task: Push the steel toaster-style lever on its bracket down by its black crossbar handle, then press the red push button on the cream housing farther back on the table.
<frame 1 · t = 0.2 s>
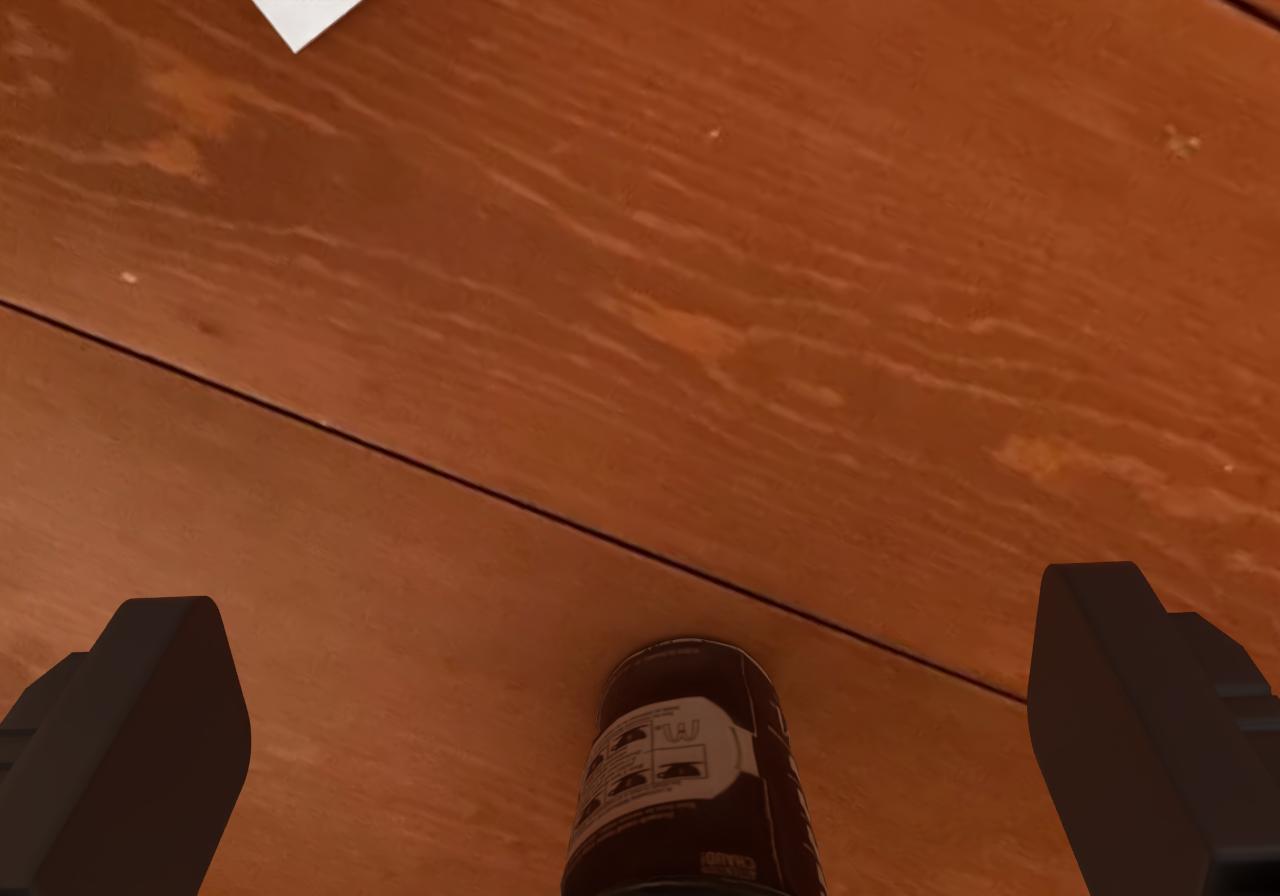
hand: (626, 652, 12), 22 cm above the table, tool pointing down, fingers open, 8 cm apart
coffee cup: (684, 702, 41), on the table
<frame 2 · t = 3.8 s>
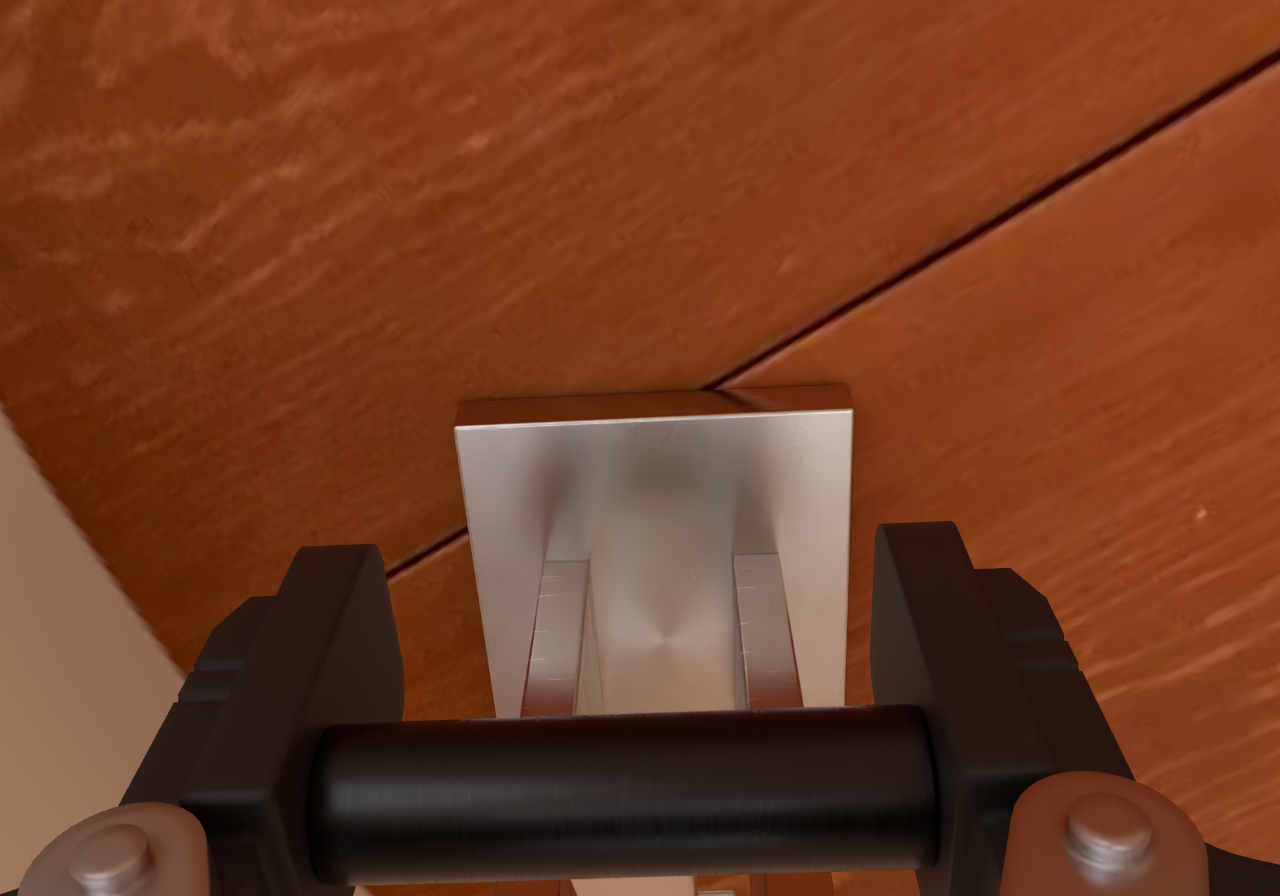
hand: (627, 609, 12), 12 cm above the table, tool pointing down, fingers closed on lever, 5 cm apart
bracket: (665, 607, 27), on the table
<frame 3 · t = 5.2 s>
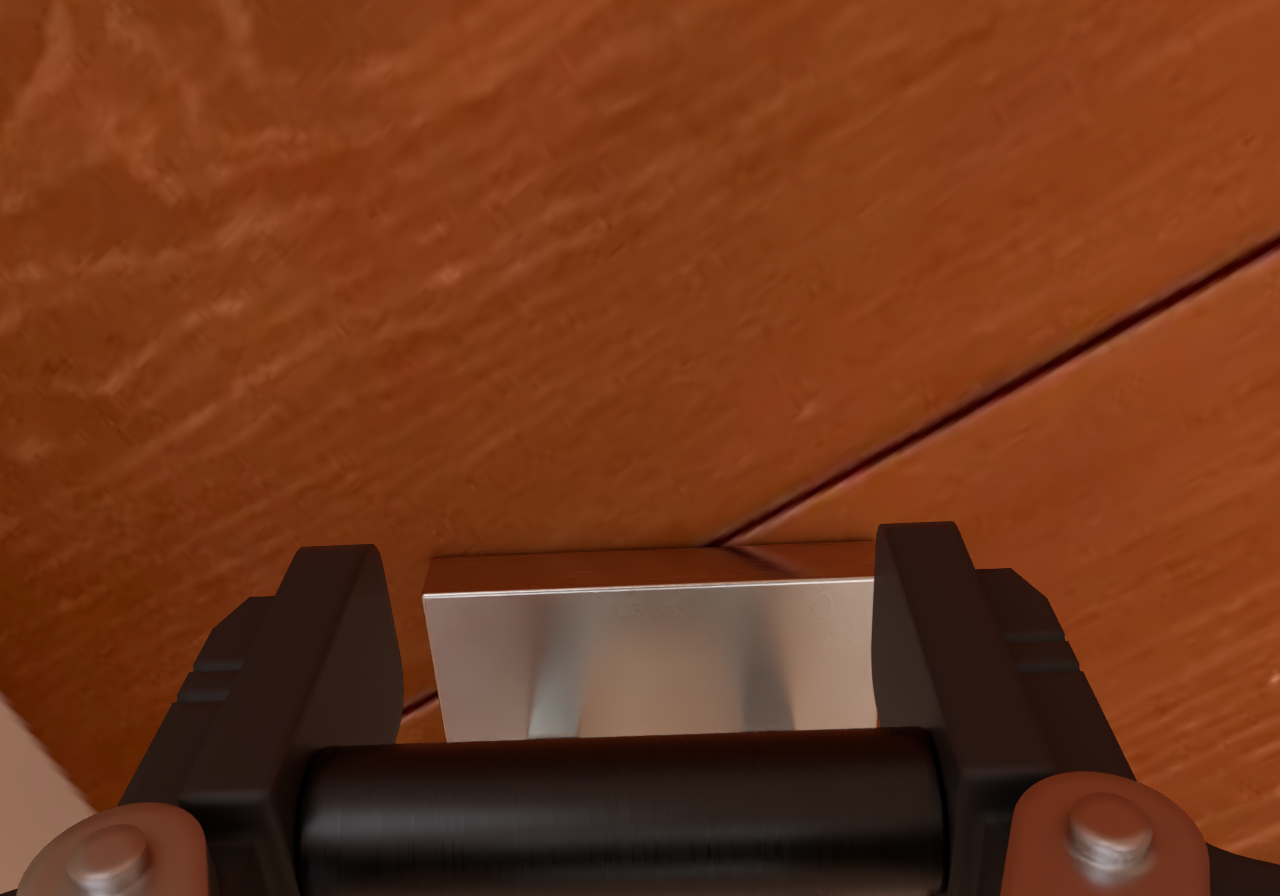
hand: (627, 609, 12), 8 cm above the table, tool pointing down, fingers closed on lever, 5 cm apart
bracket: (665, 775, 24), on the table
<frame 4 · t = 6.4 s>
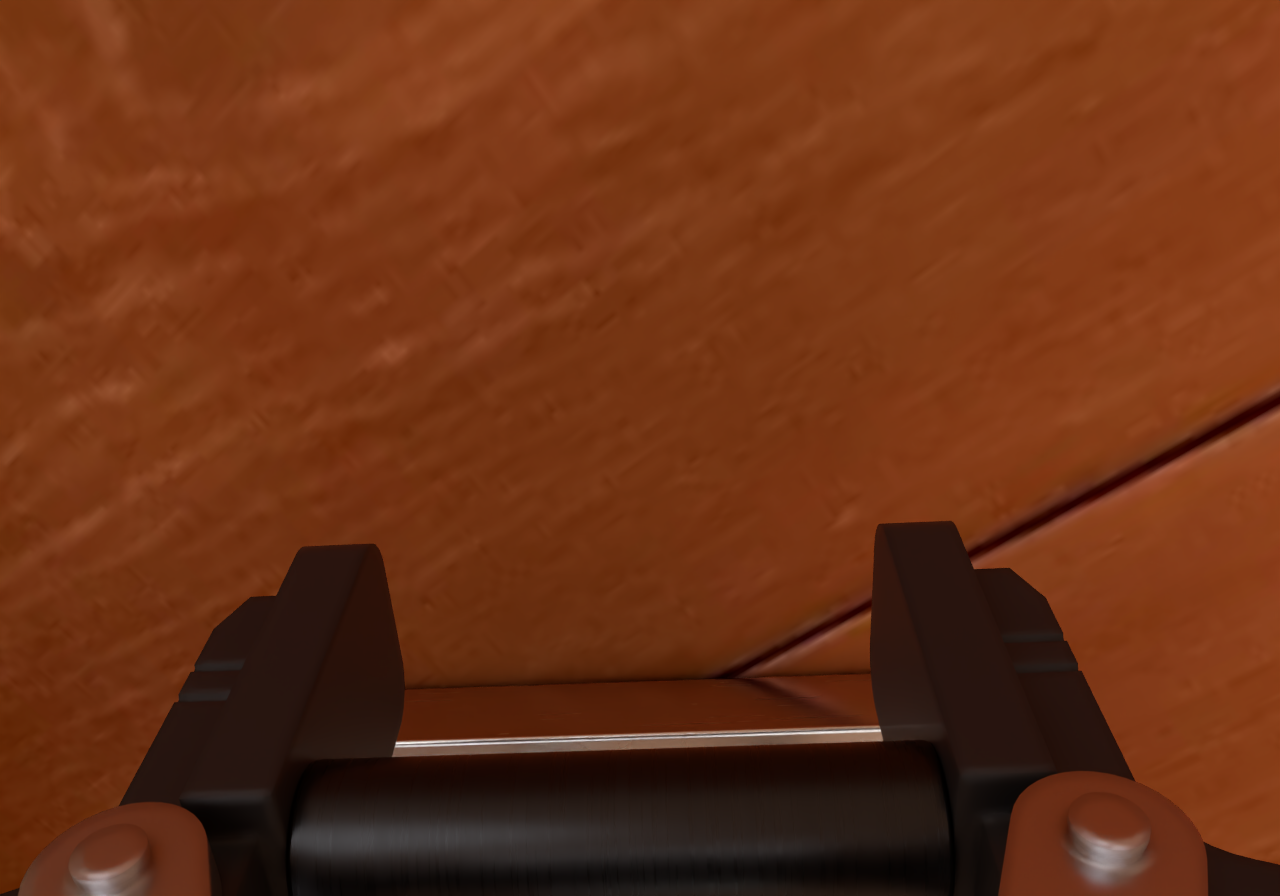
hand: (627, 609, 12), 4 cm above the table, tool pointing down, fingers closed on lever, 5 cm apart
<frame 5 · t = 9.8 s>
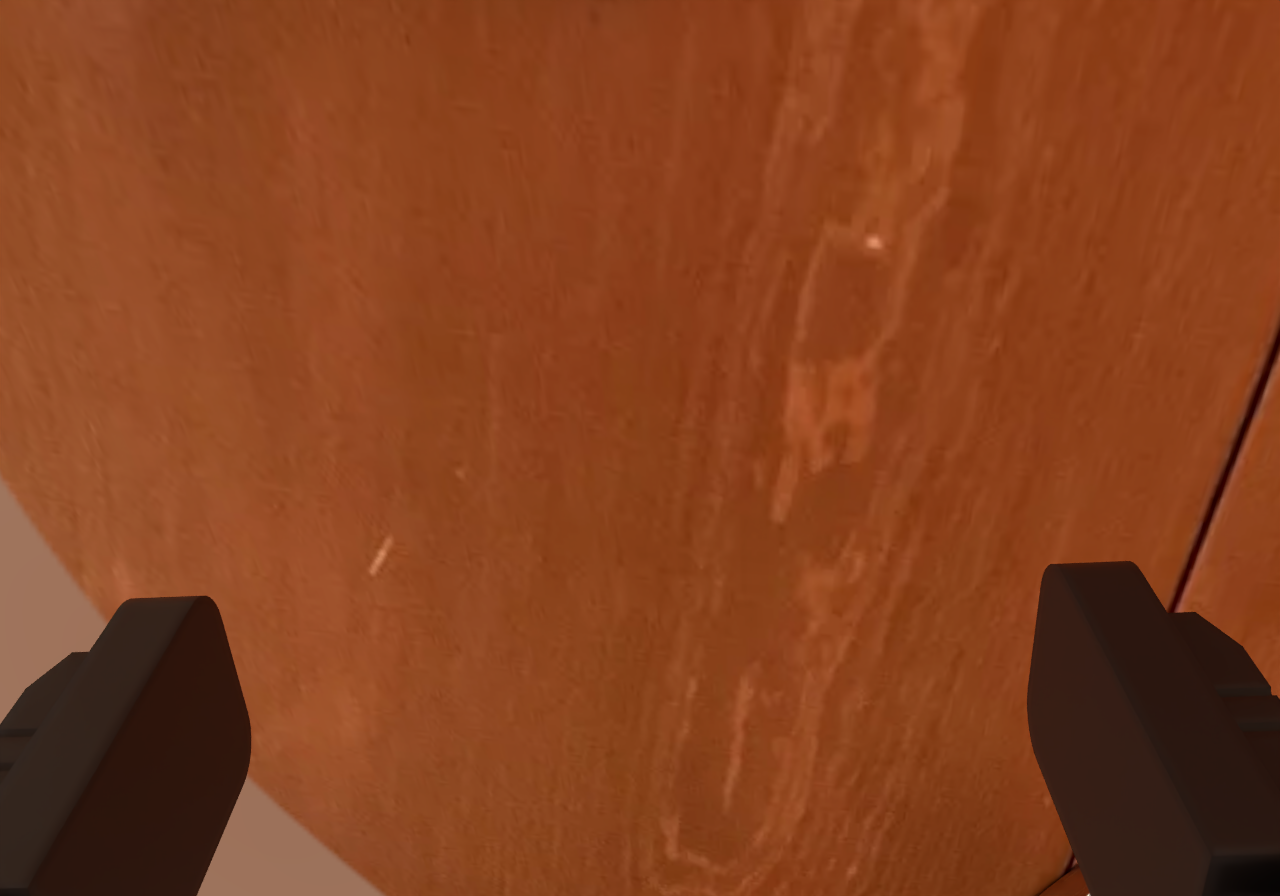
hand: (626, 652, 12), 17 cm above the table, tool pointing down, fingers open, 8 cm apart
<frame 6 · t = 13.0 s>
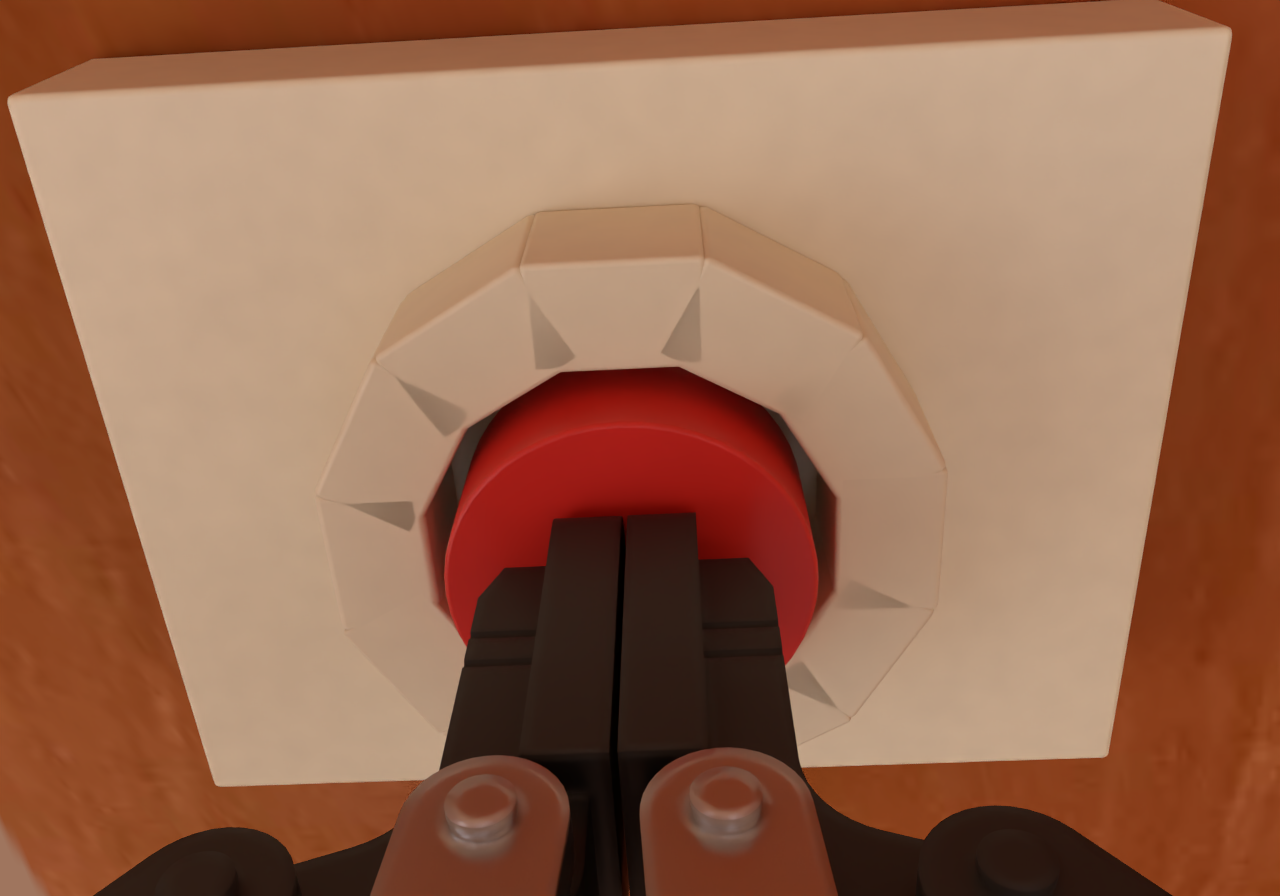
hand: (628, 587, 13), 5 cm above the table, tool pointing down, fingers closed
button: (632, 545, 13), point 4 cm above the table, slide at -0.6 cm, touching gripper
button box: (637, 398, 17), on the table
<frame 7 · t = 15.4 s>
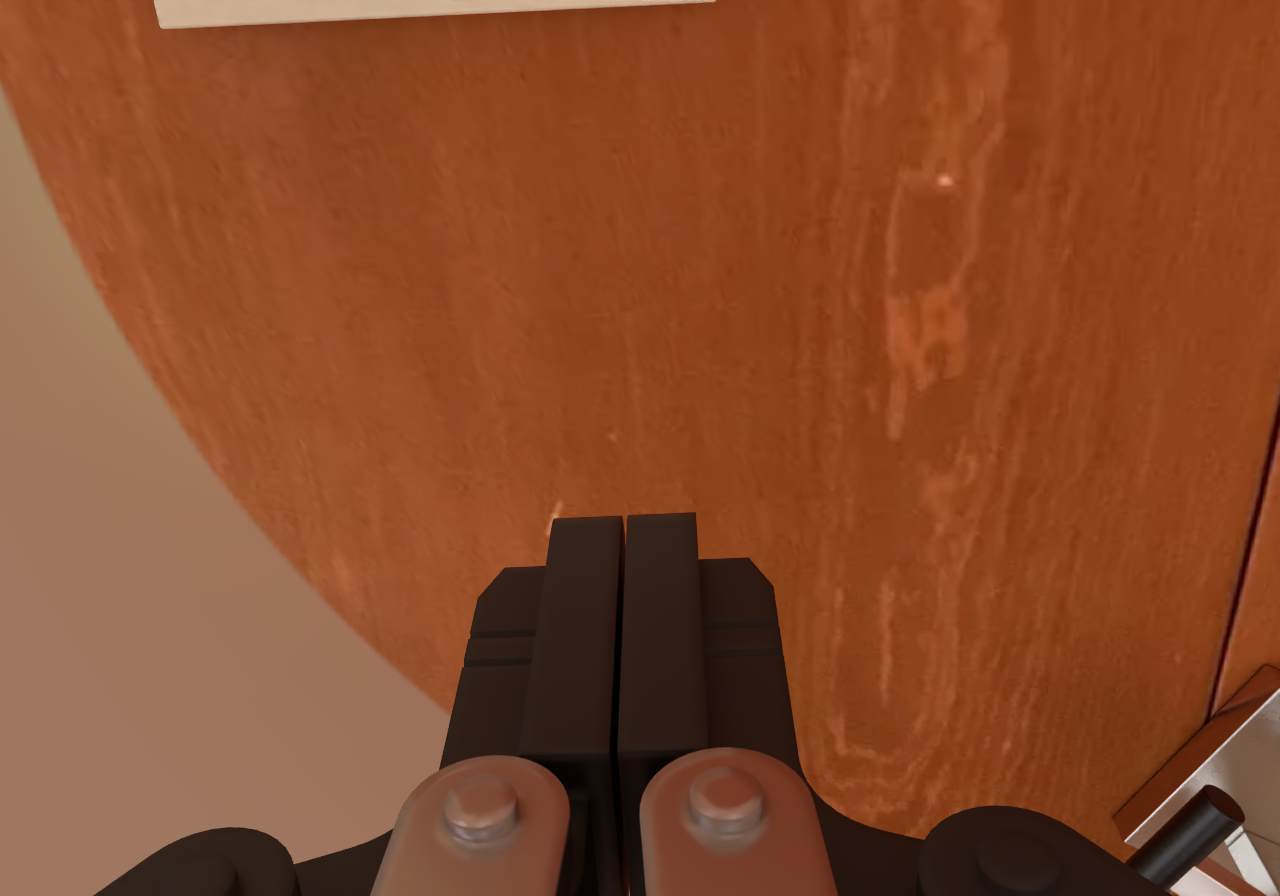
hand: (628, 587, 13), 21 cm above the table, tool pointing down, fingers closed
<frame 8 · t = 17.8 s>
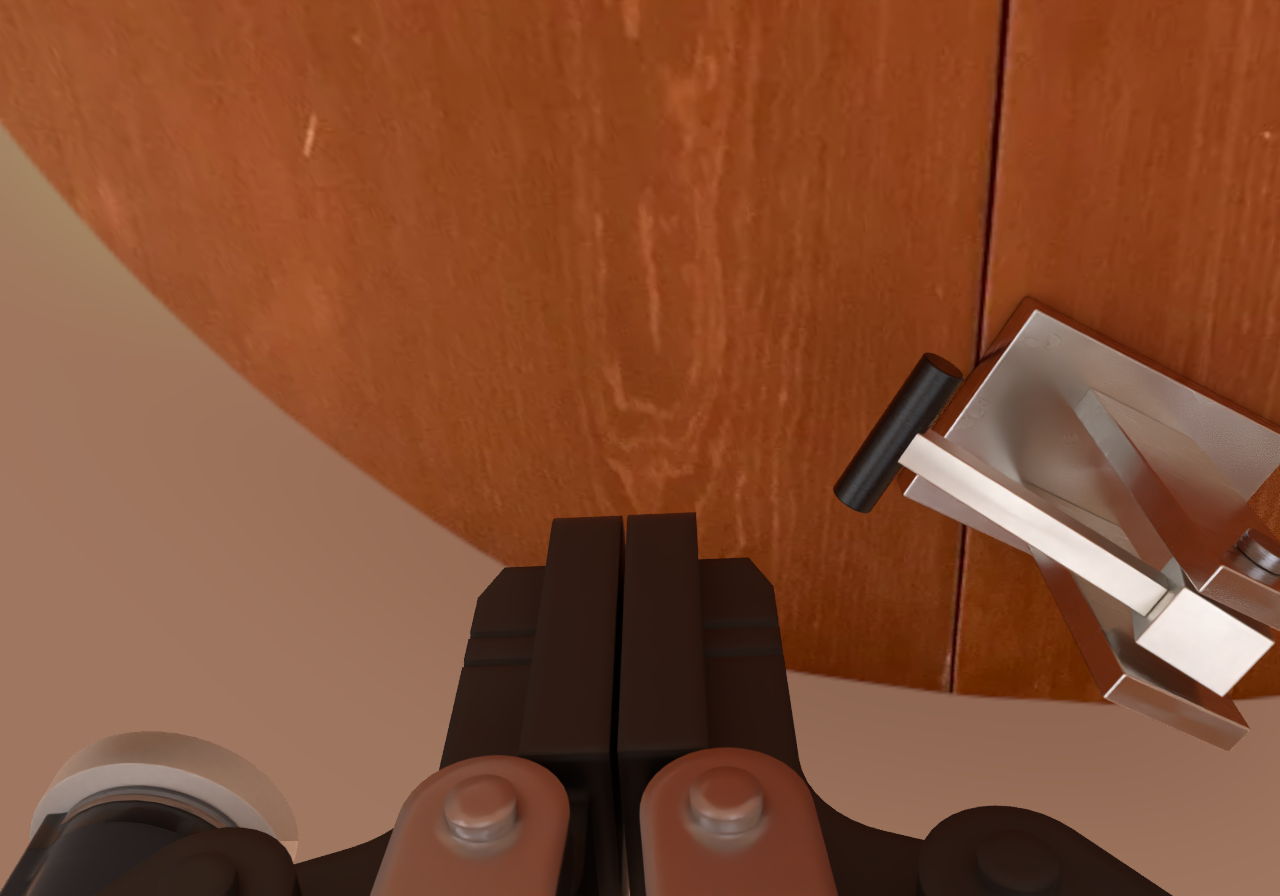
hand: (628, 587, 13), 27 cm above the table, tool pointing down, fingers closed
bracket: (1086, 453, 42), on the table
lever: (1056, 534, 34), point 8 cm above the table, hinge at -19.7°
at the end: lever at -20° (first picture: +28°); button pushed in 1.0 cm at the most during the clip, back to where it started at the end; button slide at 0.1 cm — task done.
